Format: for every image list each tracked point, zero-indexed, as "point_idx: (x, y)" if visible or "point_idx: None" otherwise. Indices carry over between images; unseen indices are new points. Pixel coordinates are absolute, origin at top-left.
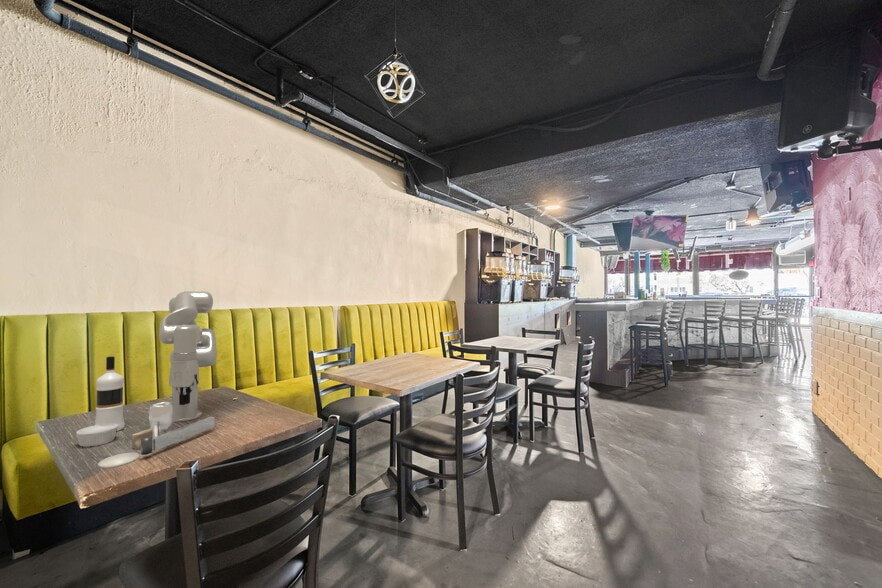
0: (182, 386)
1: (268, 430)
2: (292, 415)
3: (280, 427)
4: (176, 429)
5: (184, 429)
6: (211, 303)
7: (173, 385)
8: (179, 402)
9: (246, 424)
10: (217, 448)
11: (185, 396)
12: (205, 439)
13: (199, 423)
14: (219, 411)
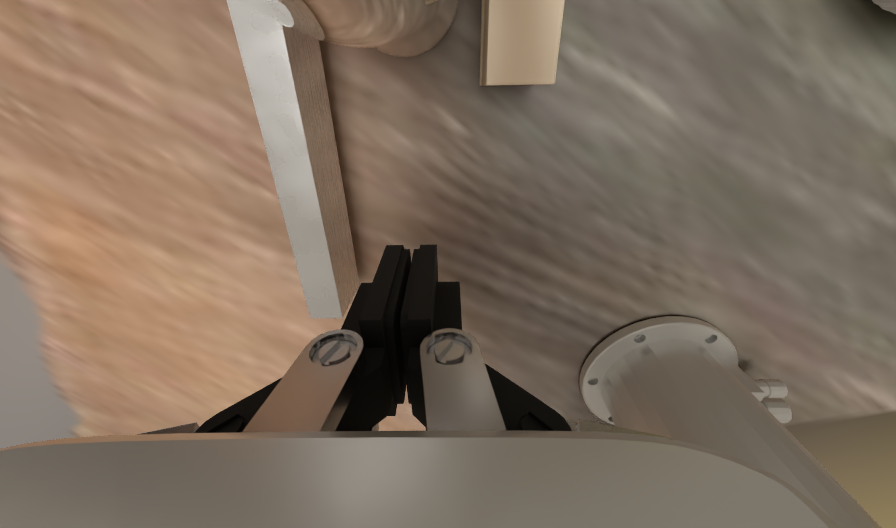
0: (141, 449)
1: (106, 328)
2: None
3: (103, 363)
4: (272, 21)
5: (251, 72)
6: None
7: (563, 469)
8: (431, 255)
9: (277, 362)
10: (25, 61)
11: (349, 326)
12: (248, 162)
13: (284, 209)
14: None
